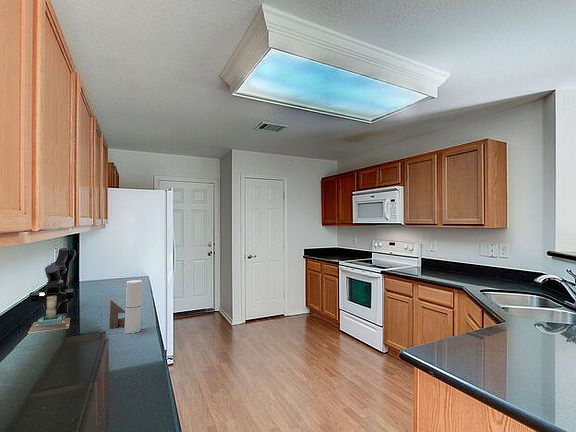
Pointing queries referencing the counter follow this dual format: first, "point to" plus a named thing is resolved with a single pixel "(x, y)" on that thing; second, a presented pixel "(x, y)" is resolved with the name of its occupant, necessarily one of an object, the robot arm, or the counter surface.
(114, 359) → the counter surface
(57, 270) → the robot arm
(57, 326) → the rail base
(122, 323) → the wooden block
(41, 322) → the socket block
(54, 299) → the birch dowel
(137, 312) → the cylindrical container
